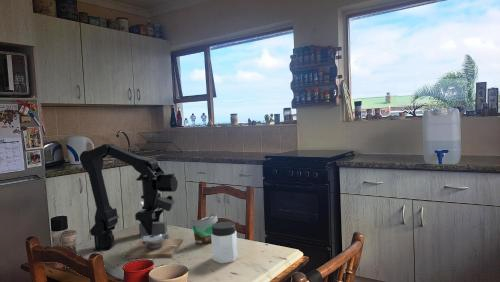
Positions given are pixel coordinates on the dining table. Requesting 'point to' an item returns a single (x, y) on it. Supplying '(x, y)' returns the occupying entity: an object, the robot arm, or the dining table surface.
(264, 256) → the dining table surface
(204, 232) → the food container
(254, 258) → the dining table surface
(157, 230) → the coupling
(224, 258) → the jar
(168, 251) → the brown flat slab
